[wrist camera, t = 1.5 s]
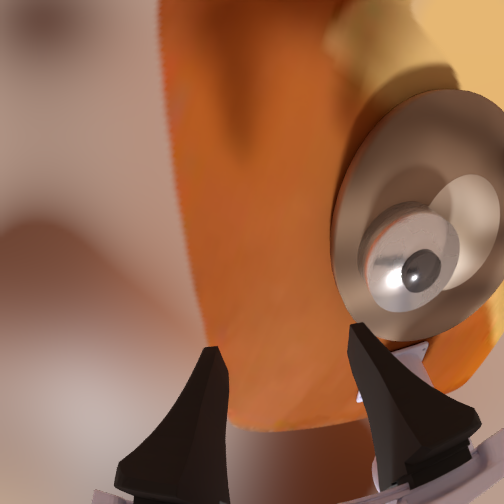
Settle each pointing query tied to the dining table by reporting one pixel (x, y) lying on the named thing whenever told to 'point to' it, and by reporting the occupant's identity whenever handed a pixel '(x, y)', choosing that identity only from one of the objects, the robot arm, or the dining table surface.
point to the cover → (407, 256)
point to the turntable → (427, 204)
